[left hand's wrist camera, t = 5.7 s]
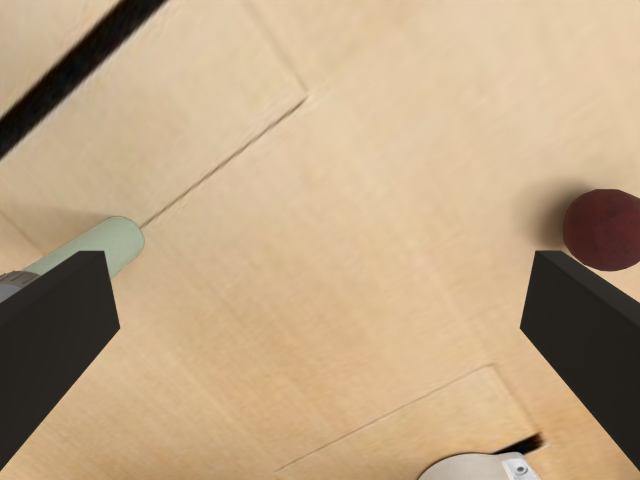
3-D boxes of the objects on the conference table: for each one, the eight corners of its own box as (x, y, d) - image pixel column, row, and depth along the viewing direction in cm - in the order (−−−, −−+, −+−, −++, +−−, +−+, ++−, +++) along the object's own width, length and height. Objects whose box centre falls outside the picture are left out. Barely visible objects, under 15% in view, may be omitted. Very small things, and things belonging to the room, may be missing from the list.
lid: (70, 277, 28) (53, 291, 26) (71, 344, 30) (55, 360, 28) (-13, 262, 27) (-36, 275, 26) (-7, 330, 29) (-28, 346, 28)
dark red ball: (564, 264, 43) (608, 297, 36) (535, 206, 40) (577, 229, 34) (632, 228, 41) (691, 255, 34) (606, 165, 39) (664, 181, 32)
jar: (145, 221, 41) (51, 292, 27) (143, 262, 43) (52, 350, 28) (98, 212, 41) (-23, 279, 26) (97, 254, 42) (-18, 338, 28)
